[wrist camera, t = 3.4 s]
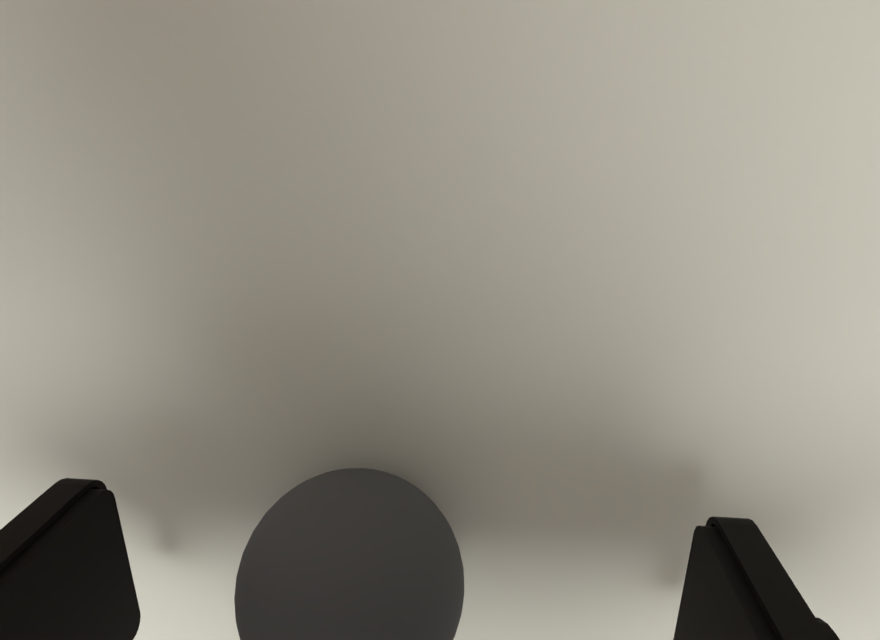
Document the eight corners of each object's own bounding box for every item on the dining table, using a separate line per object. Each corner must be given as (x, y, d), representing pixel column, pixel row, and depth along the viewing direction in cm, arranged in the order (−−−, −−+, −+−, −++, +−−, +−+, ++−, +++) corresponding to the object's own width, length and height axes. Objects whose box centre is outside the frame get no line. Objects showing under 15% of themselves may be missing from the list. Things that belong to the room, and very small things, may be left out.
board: (69, 714, 17) (3, 809, 15) (-167, -73, 10) (-357, -125, 8) (1260, 824, 15) (1406, 959, 12) (1971, -117, 8) (2589, -213, 6)
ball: (273, 422, 10) (169, 570, 7) (470, 432, 10) (460, 590, 7) (289, 579, 11) (208, 766, 8) (466, 591, 11) (456, 791, 8)
